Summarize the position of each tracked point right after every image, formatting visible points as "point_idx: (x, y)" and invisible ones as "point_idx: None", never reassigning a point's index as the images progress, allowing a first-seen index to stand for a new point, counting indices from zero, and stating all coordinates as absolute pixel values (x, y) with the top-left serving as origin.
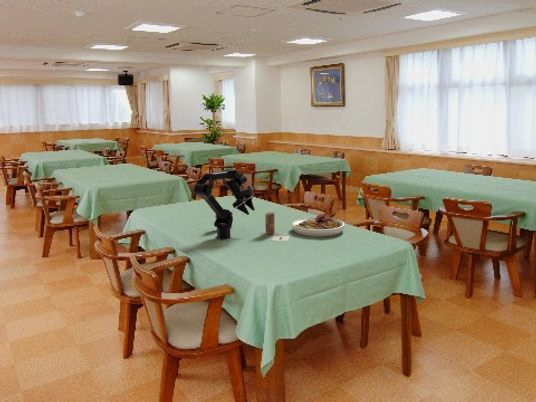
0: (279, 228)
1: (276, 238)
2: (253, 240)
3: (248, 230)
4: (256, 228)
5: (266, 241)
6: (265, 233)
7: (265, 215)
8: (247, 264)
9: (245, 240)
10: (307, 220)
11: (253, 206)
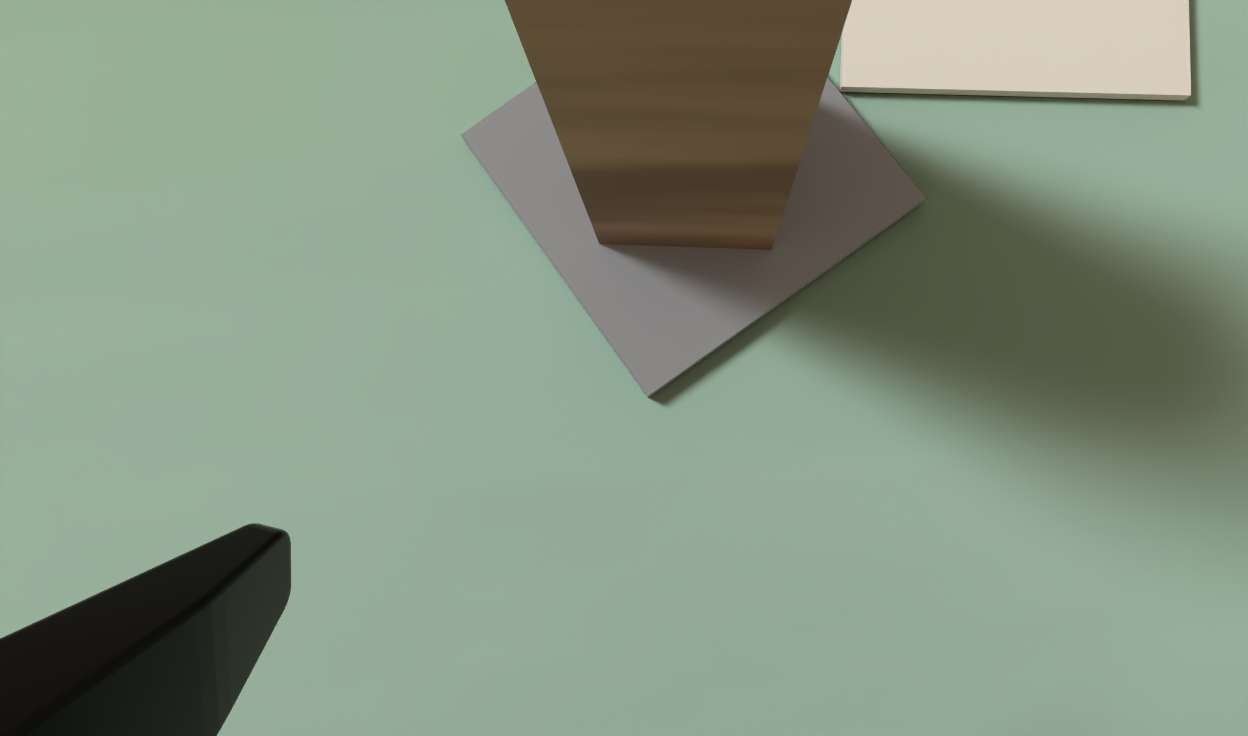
0: (189, 40)
1: (1027, 13)
2: (1180, 475)
3: (321, 674)
4: (156, 509)
5: (1232, 195)
6: (645, 266)
7: (845, 13)
8: None
9: (1199, 656)
10: None
11: (104, 610)
